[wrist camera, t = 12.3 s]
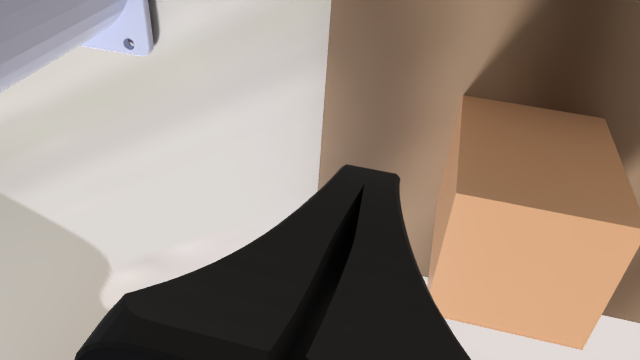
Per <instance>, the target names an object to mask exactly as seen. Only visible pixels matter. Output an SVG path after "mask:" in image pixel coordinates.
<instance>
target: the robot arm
mask: <svg viewBox="0 0 640 360" xmlns="http://www.w3.org/2000/svg"><path fill="white" fill-rule="evenodd" d="M128 38H129V39H131V40H132V41H133V43H134V46H131V45H130V43H129V41H128ZM78 46H82V47H88V48H94V49H100V50H106V51H112V52H119V53H125V54H131V55H137V56H146V55H148V54H149V53H151V52H152V50H153V47H154V43H153V35H152V27H151V19H150V11H149V3H148V0H0V92H2V91H4V90H5V89H7V88H9V87H11V86H12V85H14V84H16V83H17V82H19V81H21V80H22V79H24V78H26V77H27V76H29V75H31V74H32V73H34V72H36V71H37V70H39V69H41V68H43V67H44V66H46V65H48V64H49V63H51V62H53V61H54V60H56V59H58V58H59V57H61V56H63V55H64V54H66V53H68V52H69V51H71V50H73V49H74V48H76V47H78ZM75 360H471V359H470V357H469V356H468V355H467V353H466V352H465V350H464V349H463V347H462V346H461V345H460V343H459V342H458V340H457V339H456V337H455V336H454V334H453V333H452V331H451V329H450V328H449V326H448V324H447V323H446V321H445V319H444V318H443V316H442V314H441V312H440V311H439V309H438V307H437V306H436V304H435V302H434V300H433V298H432V296H431V294H430V292H429V290H428V288H427V286H426V284H425V281H424V279H423V277H422V275H421V272H420V270H419V267H418V265H417V262H416V259H415V257H414V254H413V251H412V248H411V245H410V242H409V238H408V235H407V231H406V227H405V223H404V218H403V214H402V208H401V201H400V178H399V176H398V175H397V174H395V173H390V172H385V171H379V170H374V169H369V168H364V167H358V166H353V165H348V164H346V165H344V166H342V167H341V168H340V169H339V170H338V171H337V173H336V174H335V175H334V176H333V177H332V178H331V179H330V180H329V181H328V182H327V183H326V184H325V185H324V186H323V187H322V188H321V189H320V190H319V191H318V192H317V193H316V194H314V195H313V196H312V197H311V198H310V199H309V200H308V201H307V202H305V203H304V204H303V205H302V206H301V207H300V208H299V209H297V210H296V211H295V212H294V213H292V214H291V215H290V216H288V217H287V218H286V219H285V220H283V221H282V222H281V223H279V224H278V225H277V226H275V227H274V228H273V229H271V230H270V231H268V232H267V233H265V234H264V235H262V236H261V237H259V238H258V239H256V240H254V241H253V242H251V243H250V244H248V245H246V246H245V247H243V248H241V249H239V250H237V251H235V252H234V253H232V254H230V255H228V256H226V257H224V258H222V259H220V260H218V261H216V262H214V263H212V264H210V265H207V266H205V267H203V268H200V269H198V270H196V271H193V272H191V273H188V274H185V275H183V276H180V277H178V278H175V279H172V280H169V281H166V282H163V283H160V284H157V285H153V286H150V287H147V288H144V289H140V290H137V291H134V292H130V293H126V294H125V295H124V296H123V297H122V298H121V299H120V300H119V301H118V302H117V303H116V304H115V305H114V307H113V308H112V309H111V310H110V311H109V312H108V313H107V315H106V316H105V317H104V318H103V319H102V321H101V322H100V323H99V324H98V326H97V327H96V328H95V330H94V331H93V332H92V334H91V335H90V336H89V338H88V339H87V340H86V342H85V343H84V344H83V346H82V347H81V348H80V350H79V351H78V352H77V354H76V357H75Z"/></svg>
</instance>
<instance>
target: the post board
mask: <svg viewBox="0 0 640 360" xmlns="http://www.w3.org/2000/svg"><path fill="white" fill-rule="evenodd" d="M463 95H465V96H471V97H477V98H483V99H489V100H495V101H501V102H507V103H514V104H520V105H526V106H532V107H538V108H544V109H550V110H556V111H562V112H568V113H574V114H580V115H586V116H592V117H599V118H605V120H606V123H607V125H608V128H609V131H610V133H611V136H612V138H613V141H614V143H615V146H616V149H617V151H618V154H619V156H620V159H621V162H622V164H623V167H624V169H625V172H626V174H627V177H628V180H629V182H630V185H631V187H632V190H633V193H634V195H635V198H636V200H637V203H638V205H639V208H640V0H332V2H331V16H330V30H329V44H328V58H327V72H326V85H325V99H324V113H323V127H322V141H321V155H320V169H319V183H318V191H319V190H320V189H321V188H322V187H323V186H324V185H325V184H326V183H327V182H328V181H329V180H330V179H331V178H332V177H333V176H334V175H335V174H336V173H337V171H338V170H339V169H340V168H341V167H342V166H344V165H346V164H348V165H353V166H358V167H364V168H369V169H374V170H379V171H385V172H390V173H395V174H397V175H398V176H399V178H400V201H401V208H402V214H403V218H404V223H405V227H406V231H407V235H408V238H409V242H410V245H411V248H412V251H413V254H414V257H415V259H416V262H417V265H418V267H419V270H420V272H421V275H422V276H425V277H429V268H430V259H431V251H432V242H433V234H434V225H435V217H436V208H437V200H438V196H439V192H440V188H441V184H442V180H443V176H444V172H445V167H446V163H447V159H448V155H449V151H450V147H451V143H452V138H453V134H454V130H455V126H456V122H457V118H458V114H459V109H460V105H461V101H462V97H463ZM602 315H605V316H610V317H614V318H619V319H624V320H628V321H633V322H637V323H640V246H639V248H638V250H637V251H636V253H635V255H634V257H633V259H632V260H631V262H630V264H629V266H628V268H627V269H626V271H625V273H624V275H623V277H622V279H621V280H620V282H619V284H618V286H617V288H616V289H615V291H614V293H613V295H612V297H611V299H610V300H609V302H608V304H607V306H606V308H605V309H604V311H603V313H602Z"/></svg>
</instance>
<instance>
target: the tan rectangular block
mask: <svg viewBox="0 0 640 360" xmlns="http://www.w3.org/2000/svg"><path fill="white" fill-rule="evenodd" d="M639 246H640V208H639V205H638V203H637V200H636V198H635V195H634V193H633V190H632V187H631V185H630V182H629V180H628V177H627V174H626V172H625V169H624V167H623V164H622V162H621V159H620V156H619V154H618V151H617V149H616V146H615V143H614V141H613V138H612V136H611V133H610V131H609V128H608V125H607V123H606V120H605V118H599V117H592V116H586V115H580V114H574V113H568V112H562V111H556V110H550V109H544V108H538V107H532V106H526V105H520V104H514V103H507V102H501V101H495V100H489V99H483V98H477V97H471V96H465V95H463V97H462V101H461V105H460V109H459V114H458V118H457V122H456V126H455V130H454V134H453V138H452V143H451V147H450V151H449V155H448V159H447V163H446V167H445V172H444V176H443V180H442V184H441V188H440V192H439V196H438V200H437V208H436V217H435V225H434V234H433V242H432V251H431V259H430V268H429V277H428V285H427V288H428V290H429V292H430V294H431V296H432V298H433V300H434V302H435V304H436V306H437V307H438V309H439V311H440V312H441V314H442V316H443V318H446V319H451V320H455V321H459V322H464V323H468V324H472V325H477V326H481V327H485V328H490V329H494V330H498V331H503V332H507V333H511V334H515V335H520V336H524V337H528V338H533V339H537V340H541V341H546V342H550V343H554V344H559V345H563V346H567V347H572V348H576V349H580V350H582V349H583V348H584V346H585V344H586V342H587V340H588V338H589V337H590V335H591V333H592V331H593V329H594V328H595V326H596V324H597V322H598V320H599V318H600V317H601V315H602V313H603V311H604V309H605V308H606V306H607V304H608V302H609V300H610V299H611V297H612V295H613V293H614V291H615V289H616V288H617V286H618V284H619V282H620V280H621V279H622V277H623V275H624V273H625V271H626V269H627V268H628V266H629V264H630V262H631V260H632V259H633V257H634V255H635V253H636V251H637V250H638V248H639Z"/></svg>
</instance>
